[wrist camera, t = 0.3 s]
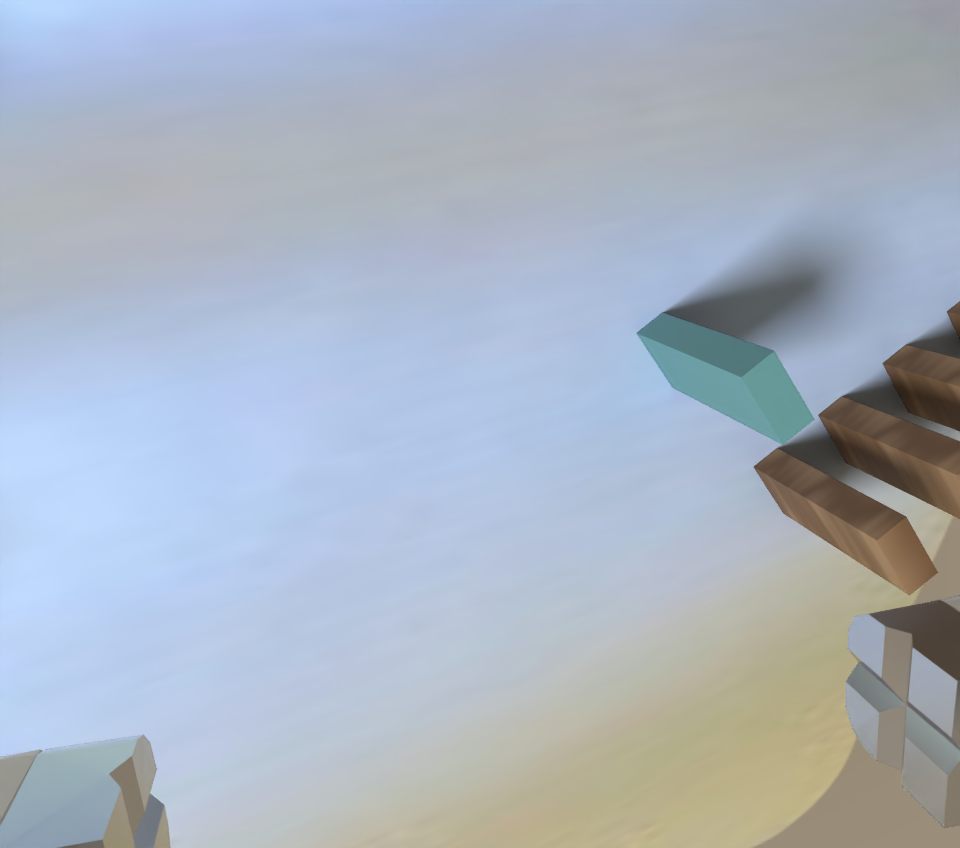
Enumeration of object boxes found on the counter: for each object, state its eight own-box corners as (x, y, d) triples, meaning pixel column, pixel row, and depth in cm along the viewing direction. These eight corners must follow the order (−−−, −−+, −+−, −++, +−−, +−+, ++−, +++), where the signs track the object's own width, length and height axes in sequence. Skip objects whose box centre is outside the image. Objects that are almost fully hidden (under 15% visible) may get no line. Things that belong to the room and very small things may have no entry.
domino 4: (783, 513, 57) (909, 595, 46) (753, 466, 55) (876, 540, 44) (806, 495, 57) (937, 572, 46) (777, 448, 55) (906, 516, 44)
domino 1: (672, 387, 52) (782, 445, 41) (636, 333, 50) (741, 377, 39) (697, 367, 52) (814, 419, 41) (662, 312, 51) (774, 351, 39)
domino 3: (846, 462, 57) (987, 532, 46) (818, 415, 55) (958, 475, 44) (868, 444, 57) (1015, 509, 46) (841, 396, 55) (987, 451, 44)
